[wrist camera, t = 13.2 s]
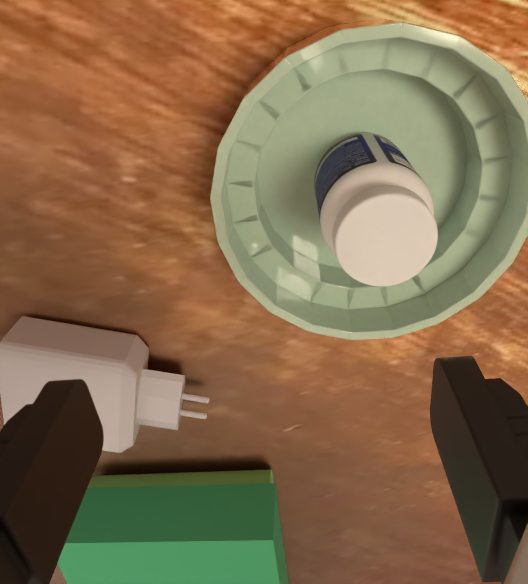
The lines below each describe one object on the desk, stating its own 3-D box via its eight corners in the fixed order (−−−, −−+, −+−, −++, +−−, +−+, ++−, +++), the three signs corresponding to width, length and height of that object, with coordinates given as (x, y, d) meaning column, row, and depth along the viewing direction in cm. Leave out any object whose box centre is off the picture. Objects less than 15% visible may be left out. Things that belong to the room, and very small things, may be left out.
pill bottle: (313, 221, 33) (321, 298, 24) (313, 132, 30) (322, 183, 21) (402, 218, 32) (442, 295, 24) (410, 128, 30) (459, 178, 21)
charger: (205, 427, 43) (32, 400, 43) (219, 343, 39) (25, 310, 38) (197, 471, 39) (5, 442, 39) (210, 383, 35) (-7, 347, 34)
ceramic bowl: (252, -13, 27) (243, -17, 22) (552, 59, 28) (612, 71, 23) (206, 264, 36) (192, 309, 30) (437, 311, 37) (462, 362, 31)
